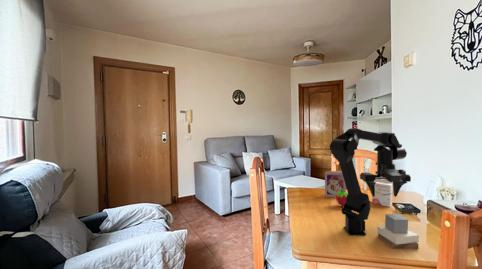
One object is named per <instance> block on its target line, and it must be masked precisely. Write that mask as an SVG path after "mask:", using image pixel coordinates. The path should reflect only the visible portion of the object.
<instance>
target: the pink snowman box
mask: <svg viewBox="0 0 482 269" xmlns="http://www.w3.org/2000/svg"><path fill="white" fill-rule="evenodd" d="M342 188H343V189H344V192H345V193H347V188H346V185H345V181H344V178H343V174H342V171H341V170H331V171H324V196H325V197H327V198H336V194H337V193H338V192H342Z"/></svg>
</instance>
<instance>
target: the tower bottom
mask: <svg viewBox="0 0 482 269" xmlns="http://www.w3.org/2000/svg"><path fill="white" fill-rule="evenodd" d="M377 236H378V237H379V239H380V240H382V241H383V242H384V243H385V244H386V245H388V247H389V248H391V249H393V250H394V249H395V250H396V249H397V250H398V249H400V250H403V249H405V250H407V249H408V250H409V249H410V250H411V249H412V250H417V249H419V242H414V243H405V244H395V243H393V242H392V241H390V240H388V239H387V238H385V237H384V236H382V235H381V234H379V233H377Z"/></svg>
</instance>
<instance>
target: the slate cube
mask: <svg viewBox="0 0 482 269" xmlns="http://www.w3.org/2000/svg"><path fill="white" fill-rule="evenodd" d="M384 220H385V221H384V224H385V227H386V228H387V229H389V230H390V231H392V232H393V233H408V230H409V219H407V218H406V217H404V216H403V215H401V214H399V213H386V214H385V219H384Z"/></svg>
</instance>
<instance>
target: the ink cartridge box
mask: <svg viewBox="0 0 482 269" xmlns="http://www.w3.org/2000/svg"><path fill="white" fill-rule="evenodd" d="M374 182H376V184H375V196H374V197H373V196H372V195H371V196H372V201H371V202H372V203H371V204H373V205H378V206H382V207H383V206H384V207H388V208H391V206H392V205H393V182H389V181H387V179H375V181H374Z"/></svg>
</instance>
